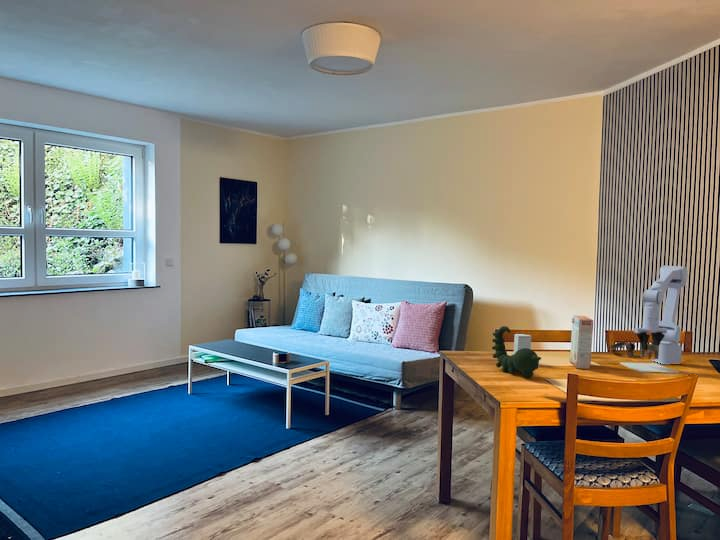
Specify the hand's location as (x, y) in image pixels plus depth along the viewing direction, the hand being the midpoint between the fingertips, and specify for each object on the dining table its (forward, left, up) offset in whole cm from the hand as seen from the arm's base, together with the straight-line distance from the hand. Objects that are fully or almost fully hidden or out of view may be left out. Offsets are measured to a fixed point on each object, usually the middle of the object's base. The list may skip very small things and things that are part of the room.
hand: (649, 349), depth 224 cm
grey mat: (0, 0, -8) cm, 8 cm away
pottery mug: (-5, -28, -8) cm, 29 cm away
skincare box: (+53, -6, -8) cm, 54 cm away
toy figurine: (+63, +15, -8) cm, 65 cm away
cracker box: (+29, -2, -8) cm, 30 cm away
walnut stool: (0, 0, -3) cm, 3 cm away
